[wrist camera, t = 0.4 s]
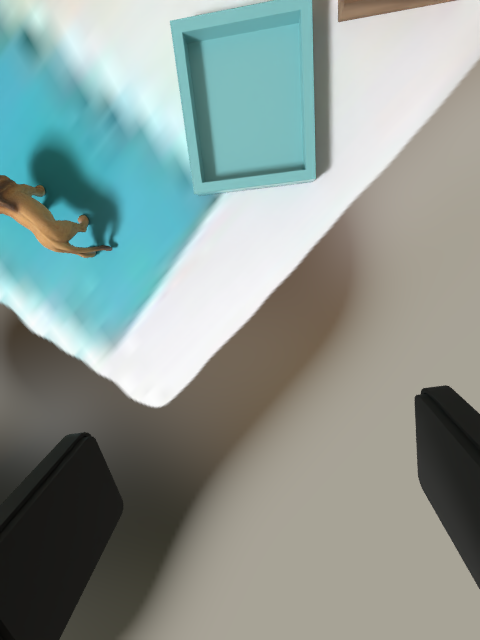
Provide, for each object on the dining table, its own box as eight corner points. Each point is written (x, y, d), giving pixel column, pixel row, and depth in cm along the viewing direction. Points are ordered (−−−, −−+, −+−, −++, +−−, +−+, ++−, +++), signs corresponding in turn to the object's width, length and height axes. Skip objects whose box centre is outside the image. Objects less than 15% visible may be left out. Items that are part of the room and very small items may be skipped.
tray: (177, 36, 30) (169, 20, 28) (308, 11, 28) (311, -8, 26) (199, 195, 34) (194, 193, 32) (312, 181, 33) (315, 178, 31)
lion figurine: (2, 208, 37) (-77, 205, 29) (12, 167, 35) (-69, 150, 27) (108, 266, 38) (62, 278, 30) (122, 228, 37) (78, 230, 28)
